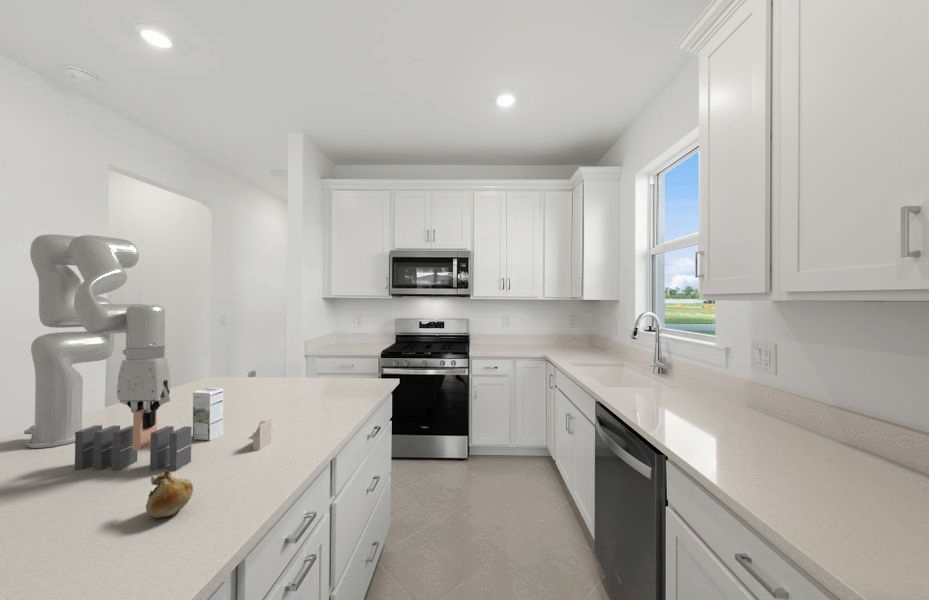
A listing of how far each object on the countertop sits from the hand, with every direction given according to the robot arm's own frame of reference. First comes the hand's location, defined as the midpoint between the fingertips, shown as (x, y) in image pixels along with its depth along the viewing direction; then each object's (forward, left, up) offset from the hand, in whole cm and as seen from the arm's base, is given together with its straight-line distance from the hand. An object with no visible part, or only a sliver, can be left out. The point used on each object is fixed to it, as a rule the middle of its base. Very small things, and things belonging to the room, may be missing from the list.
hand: (144, 426), depth 95 cm
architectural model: (+22, +14, -11) cm, 28 cm away
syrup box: (+2, +20, -10) cm, 23 cm away
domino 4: (0, 0, -5) cm, 5 cm away
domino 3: (-5, 0, -10) cm, 11 cm away
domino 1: (-14, 0, -10) cm, 17 cm away
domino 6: (+9, 0, -10) cm, 13 cm away
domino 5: (+4, 0, -10) cm, 11 cm away
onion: (+22, -21, -10) cm, 32 cm away
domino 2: (-9, 0, -10) cm, 14 cm away
